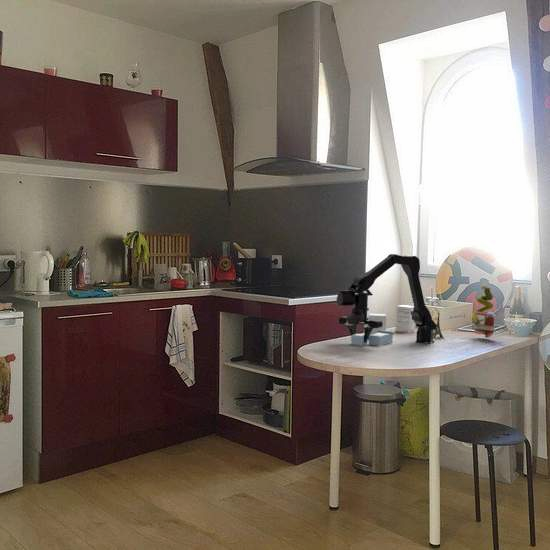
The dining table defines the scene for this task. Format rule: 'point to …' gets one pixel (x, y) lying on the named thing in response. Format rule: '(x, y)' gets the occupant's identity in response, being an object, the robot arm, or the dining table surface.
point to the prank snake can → (484, 314)
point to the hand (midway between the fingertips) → (359, 341)
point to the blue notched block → (381, 338)
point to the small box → (378, 317)
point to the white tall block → (404, 319)
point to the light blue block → (358, 339)
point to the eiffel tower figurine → (438, 332)
